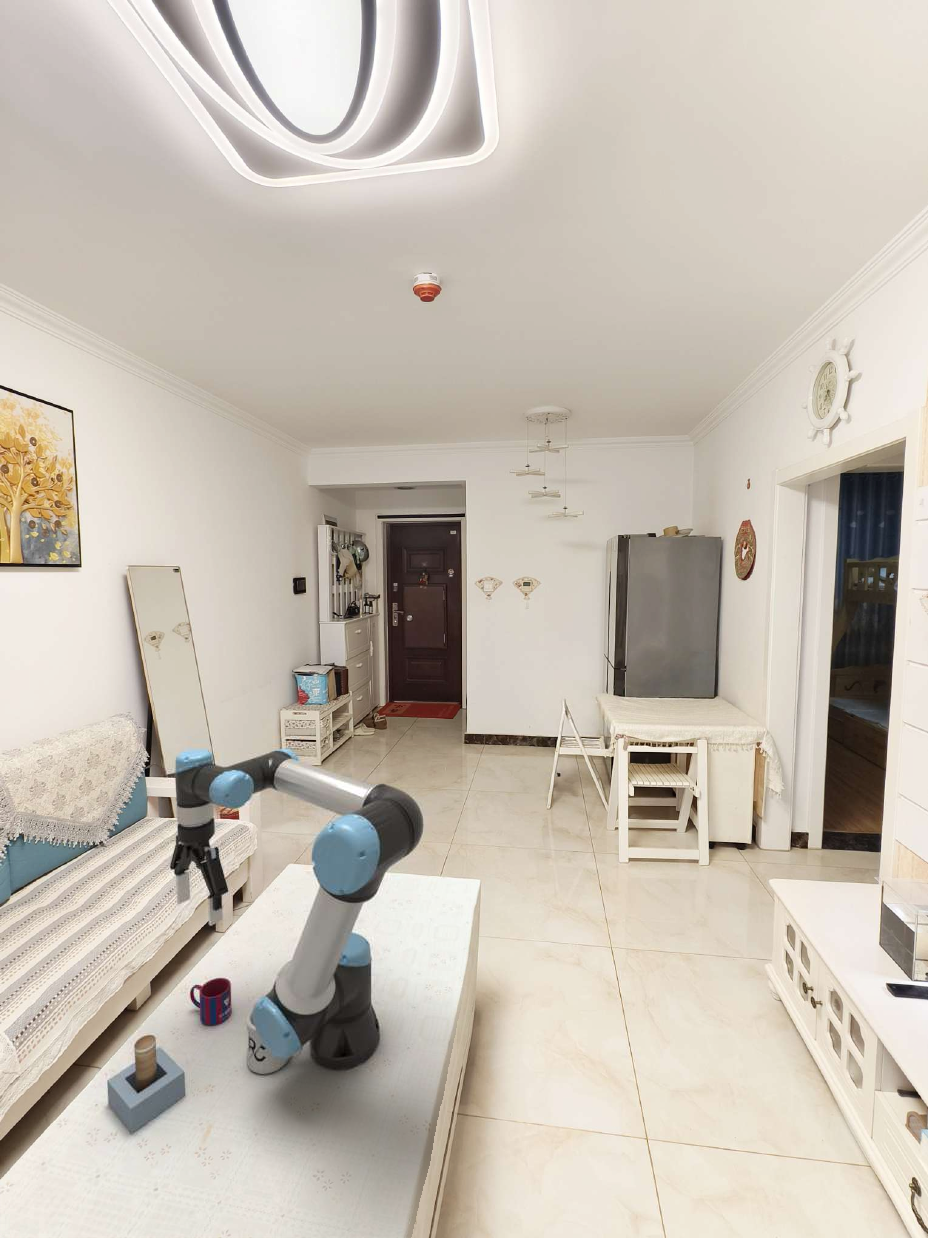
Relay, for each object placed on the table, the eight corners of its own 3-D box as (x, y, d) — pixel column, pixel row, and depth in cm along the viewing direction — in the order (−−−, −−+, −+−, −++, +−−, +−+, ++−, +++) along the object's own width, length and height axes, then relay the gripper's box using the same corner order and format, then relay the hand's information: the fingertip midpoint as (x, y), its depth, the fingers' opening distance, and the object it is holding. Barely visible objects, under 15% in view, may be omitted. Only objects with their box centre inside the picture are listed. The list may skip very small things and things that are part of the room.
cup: (216, 1030, 131) (215, 1001, 131) (182, 1017, 135) (181, 990, 134) (237, 1009, 137) (237, 982, 137) (205, 998, 141) (204, 971, 140)
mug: (237, 1071, 120) (236, 1026, 120) (262, 1037, 129) (261, 995, 128) (291, 1084, 117) (290, 1037, 117) (313, 1048, 126) (312, 1005, 125)
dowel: (161, 1098, 114) (159, 1041, 113) (142, 1112, 111) (139, 1053, 110) (152, 1088, 116) (150, 1032, 115) (133, 1101, 113) (130, 1044, 112)
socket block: (185, 1095, 115) (184, 1072, 114) (131, 1134, 107) (130, 1109, 106) (160, 1069, 121) (159, 1047, 120) (108, 1104, 113) (107, 1080, 112)
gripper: (243, 829, 125) (246, 923, 127) (183, 801, 140) (186, 886, 141) (210, 842, 119) (213, 941, 121) (151, 812, 134) (155, 900, 135)
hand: (199, 911), depth 131 cm, fingers open, 13 cm apart
